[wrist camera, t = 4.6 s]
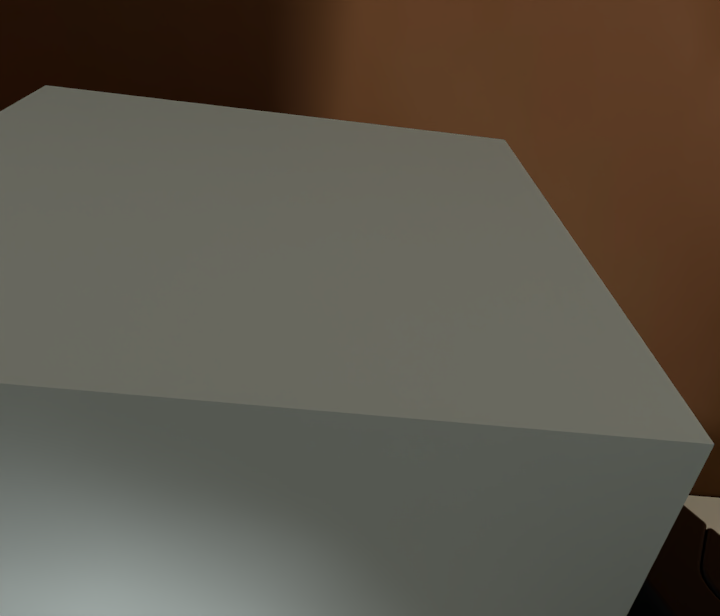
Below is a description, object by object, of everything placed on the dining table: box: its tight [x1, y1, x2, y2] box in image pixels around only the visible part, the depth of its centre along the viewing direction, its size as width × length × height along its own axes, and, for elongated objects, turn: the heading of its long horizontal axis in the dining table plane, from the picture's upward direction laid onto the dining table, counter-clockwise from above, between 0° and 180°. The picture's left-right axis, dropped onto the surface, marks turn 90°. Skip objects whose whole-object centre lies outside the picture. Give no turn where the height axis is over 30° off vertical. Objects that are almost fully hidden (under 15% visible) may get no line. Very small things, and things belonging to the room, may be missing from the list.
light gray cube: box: [0, 85, 714, 616], centre depth 8 cm, size 6×6×6 cm
